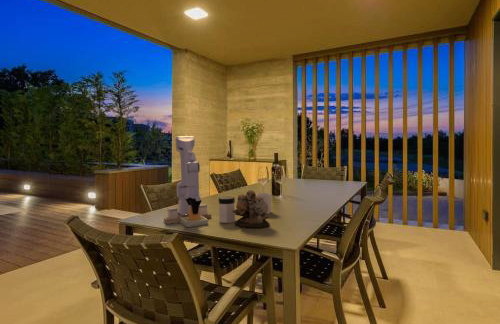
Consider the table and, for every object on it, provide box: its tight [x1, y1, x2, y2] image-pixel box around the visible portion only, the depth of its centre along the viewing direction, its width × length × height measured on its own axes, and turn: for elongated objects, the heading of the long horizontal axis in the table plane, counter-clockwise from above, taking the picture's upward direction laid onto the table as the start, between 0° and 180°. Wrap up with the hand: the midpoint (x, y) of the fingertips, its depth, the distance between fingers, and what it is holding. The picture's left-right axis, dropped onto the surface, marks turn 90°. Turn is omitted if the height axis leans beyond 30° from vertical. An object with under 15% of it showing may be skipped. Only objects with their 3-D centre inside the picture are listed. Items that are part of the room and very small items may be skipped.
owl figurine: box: [233, 189, 271, 230], centre depth 147 cm, size 18×12×17 cm, turn 77°
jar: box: [218, 195, 236, 224], centre depth 156 cm, size 9×8×12 cm
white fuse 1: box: [167, 206, 179, 220], centre depth 157 cm, size 4×4×7 cm
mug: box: [256, 192, 272, 215], centre depth 174 cm, size 12×8×10 cm, turn 78°
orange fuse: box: [188, 205, 199, 221], centre depth 152 cm, size 4×4×7 cm
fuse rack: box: [163, 212, 212, 225], centre depth 161 cm, size 7×23×2 cm, turn 120°
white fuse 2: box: [199, 203, 208, 215], centre depth 165 cm, size 4×4×7 cm
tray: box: [180, 215, 209, 228], centre depth 153 cm, size 11×11×2 cm
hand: (193, 213), depth 152 cm, fingers closed on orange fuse, 4 cm apart
